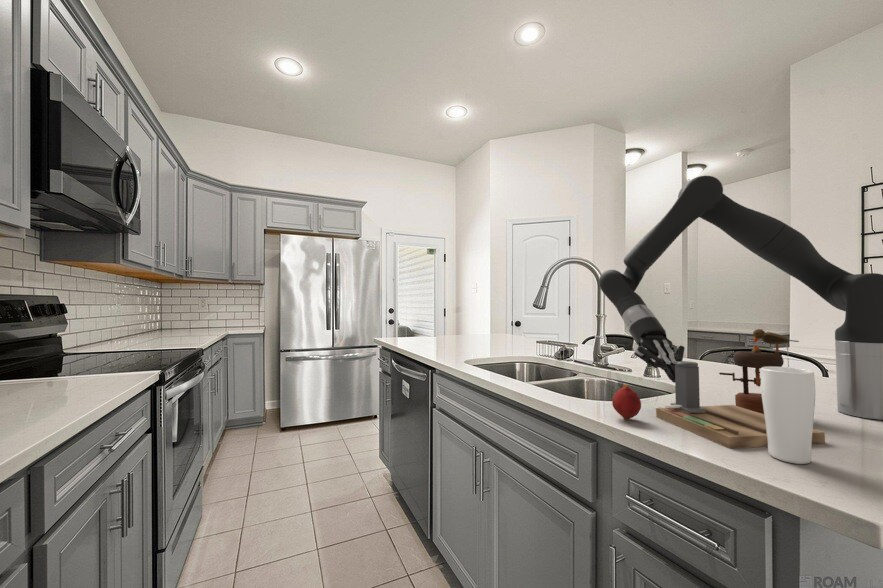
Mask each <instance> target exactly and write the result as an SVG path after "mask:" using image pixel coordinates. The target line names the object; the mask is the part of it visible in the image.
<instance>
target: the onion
mask: <svg viewBox="0 0 883 588" xmlns="http://www.w3.org/2000/svg"><path fill="white" fill-rule="evenodd" d="M621 386H622V388H619V389H618V390H616V391H615V393H614V394H613V397H612V400H611V402H612V404H611V405H612V407H613V409H614V410H615V412H616V413H617V414H618V415H620V417H622V418H623V419H624V420H626V421H629V420H630V419H633V418H634V417H636V416H637V415H638V414H639V413H640V411H641V407H642V400H641V399H640V397H639V394H638V393H637V392H636V391H635V390H634V389H632V388H631V387H630V386H629V385H628V384H625V383H624V384H622V385H621Z"/></svg>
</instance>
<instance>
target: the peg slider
mask: <svg viewBox="0 0 883 588" xmlns="http://www.w3.org/2000/svg"><path fill="white" fill-rule="evenodd" d="M674 386H675V402H673V403H672V402H671V403H670V404H669V405H667V404H666V405H665V406H664V408H677V409H679V410H682V411H685V412H688V413H703V412H706V409H705V408H702V407H700V405H701V404H700V400H701V399H700V367H699V363H698V362H695V361H689V360H686V361H685V360H682V361H676V365H675V385H674Z"/></svg>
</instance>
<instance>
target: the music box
mask: <svg viewBox="0 0 883 588" xmlns="http://www.w3.org/2000/svg"><path fill="white" fill-rule="evenodd" d="M752 336H753V337H754V339H753V344H755V343H756V342H757V341H758V340H760V339H761V340H762V342H764V343H765V344H770V345H775V351H774V353H773V352H762V351H761V348H760V346H759V345H757V346H755V345H753V348H752V349H751V351H736V352H735V353H734V354H733V359H732V360H733V362H734V363H735V365H736V366H737V367H741V369H742V377H740V378H736V377H735V376H736V374H735V372H732V373H730V372H729V373H728V372H719V373H718V375H721V376H722V375H723V376H732V381H733V382H735V381H738V382H741V383H742V387H743V392H738V393H737V394H735V395H734V399H735V406H738V407H741V408H744V409H748V410H751V411H755V412H758V413H761V414H764V410H763V402H762V395H761V393H759V392H758V393H757V392H749V382H751V383H753V384H754V385H756V386H755V387H758V388H761V368H762V367H769V366H772V367H783V365H784V362H785V361H784V360H785V359H784V358H783V356H782V355H781V351H780V350H779V345H784V344H785V346H786V351H787V356H789V347H790V346H788V345H787V343H789V342H795V343H799V342H800V341H799V340H792V339H789V338H787V337H785V336H784V335H781V334H778V333H776V332H771V331H767V332H765V330H763V329H760V328H757V329H754V330H753V332H752ZM789 364H790V363H789V359H787V367H789V368H790V365H789ZM748 368H751V369H752V368H754V372H755V377H753V379H749V372H748V371H749V369H748Z"/></svg>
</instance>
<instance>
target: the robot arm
mask: <svg viewBox="0 0 883 588" xmlns="http://www.w3.org/2000/svg"><path fill="white" fill-rule="evenodd" d="M677 195H678V196H677V199H676V201H675V202H674V204H673V205H672V206H671V208H670V209H669V210H668V211H667V213H666V214H665V215H664V216H663V217H662V219H660V221H659V222H657V223H656V225H655V226H654V227H652V228H651V229H650V230H649V231H648V232H647V233H646V234H645V235H644V236H643V237H642V238H641V239H640V240H639V241H638V242H637V243H636V244H635V245H634V246H633V247H632V249H630V251H629V252H628V253H627V255H625V256H624V258H623V263H624V265H625V266H626V268H625V270H624V272H623V273H622V272H620V271H618V270H616V269H608V270H605V271H604V272H602V273H601V275H600V276H599V280H598V285H599V288H600V290H601V291H602V293H603V294H604V295H605V297H607V299H608V300H609V301H610V302H611V303H612V304H613V306H614V307H615V308H616V310H617V311H618V313H619V315H620V316H621V319H622V321H623V323H624V325H625V327H626V329H627V331H628V332H629V333H630V336H631V337H632V339H633V340H634V342H635V343H636V345H637V346H638V347H637V349H636V350H635V351H634V353H633V355H635V357H637V358H639V359H641V360H642V361H644V362H645V363H646V364H648V365H650V366H651V367H653V368H654V369H658V368H660V369H661V370H662V371H664V373H665V374H666V376H667V378H668V379H669V380H670V381H671V382H672V383H675V365H676V361H684V360H683V359H684V355H685V349H686V348H685V346H684V345H679V346H677V345H675V344H673V342H672V341H671V340H670V339H669V338H668V337H667V332H666V330H665V328H664V327H663V326H662V324H661V323H660V320H659V319H658V318H657V317H656V315H655V314H654V312H653V311H652V310H651V309H650V308H649V307H648V306H647V304H646V303H645V301H644V300H643V298H642V297H641V296H640V295H639V294H638V293H637V292H635V291H636V290H637V288H638V287H639V285H640V283H641V281H642V280H643V277H644V276H645V274H646V272H647V271H648V270H650V268H651V266H653V264H655V262H656V261H657V260H658V259H659V258H660V257H662V255H663V254H664V253H665V252H666V251H667V250H668V249H669V248H670V246H671V244H673V243H674V242H675V240H676V239H677V238H678V237H680V235H681V234H682V233H683V232H684V231H685V230H687V228H688V227H689V226H690V225H692V223H694V222H695V221H696V220H697V219H698V218H700V219H702V220H704V221H706V222H708V223H710V224H712V225H714V226H715V227H717V228H718V229H720V230H721V231H722V232H724V233H725V234H726V235H728V236H729V237H730V238H732V239H733V240H735V241H736V242H737V243H738V244H740V245H741V246H743V247H744V248H746V249H747V250H749V251H750V252H751V253H753V254H754V255H755V256H758V257H759V258H761V259H762V260H764V261H766V262H768V263H769V264H771V265H773V266H775V267H776V268H777V269H778V270H780V271H782V272H784V273H785V274H787V275H789V276H791V277H792V278H795V279H796V280H798V281H800V282H801V283H802V284H803V285H805V286H806V287H808V288H809V289H810V290H812V291H813V292H814V293H815V294H817V295H818V296H819V297H821V298H822V299H823V300H824V301H826V302H827V303H828V304H830V305H831V306H832V307H834V308H835V309H837V310H839V311H840V310H841V311H842V312H845V317H844V318H845V319H844V322H843V324H842V325H840V326H839V327H837V328H836V329H835V330H834V341H835V342H834V347H835V371H836V372H835V375H836V400H837V401H836V402H837V411H838V412H840V413H843V414H846V415H849V416H854V417H858V418H863V419H864V418H865V419H870V420H871V419H873V420H880V421H883V274H882V273H877V272H876V273H875V272H874V273H873V272H872V273H871V272H869V273H867V272H866V273H859V274H853V273H851V272H848V271H846V270H844V269H842V268H841V267H839V266H837V265H835V264H833V263H832V262H830V261H828V260H827V259H826V258H824V257H823V256H822V255H821V254H820V253H819V251H818V250H817V249H816V248H815V247H814V245H813V243H812V242H811V241H810V240H809V239H808V238H807V237H806V236H805V235H804V234H803V233H802V232H800V231H799V230H797V229H796V228H793V227H792V226H791V225H788V224H787V223H785V222H783V221H782V220H780V219H777V218H775V217H773V216H771V215H768V214H766V213H764V212H760V211H758V210H755V209H752V208H749V207H746V206H744V205H742V204H739V202H736V201H734V200H733V199H732V198H730V197H729V196H727V195H726V194H725V193H724V186H723V184H722V182H721V181H720V180H719V179H718V178H717V177H715V176H712V175H700V176H697V177H694V178H692V179H690V180H688V182H686V183H685V184H684V185H683V186H681V188H680V190H679V192H678V194H677Z"/></svg>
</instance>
